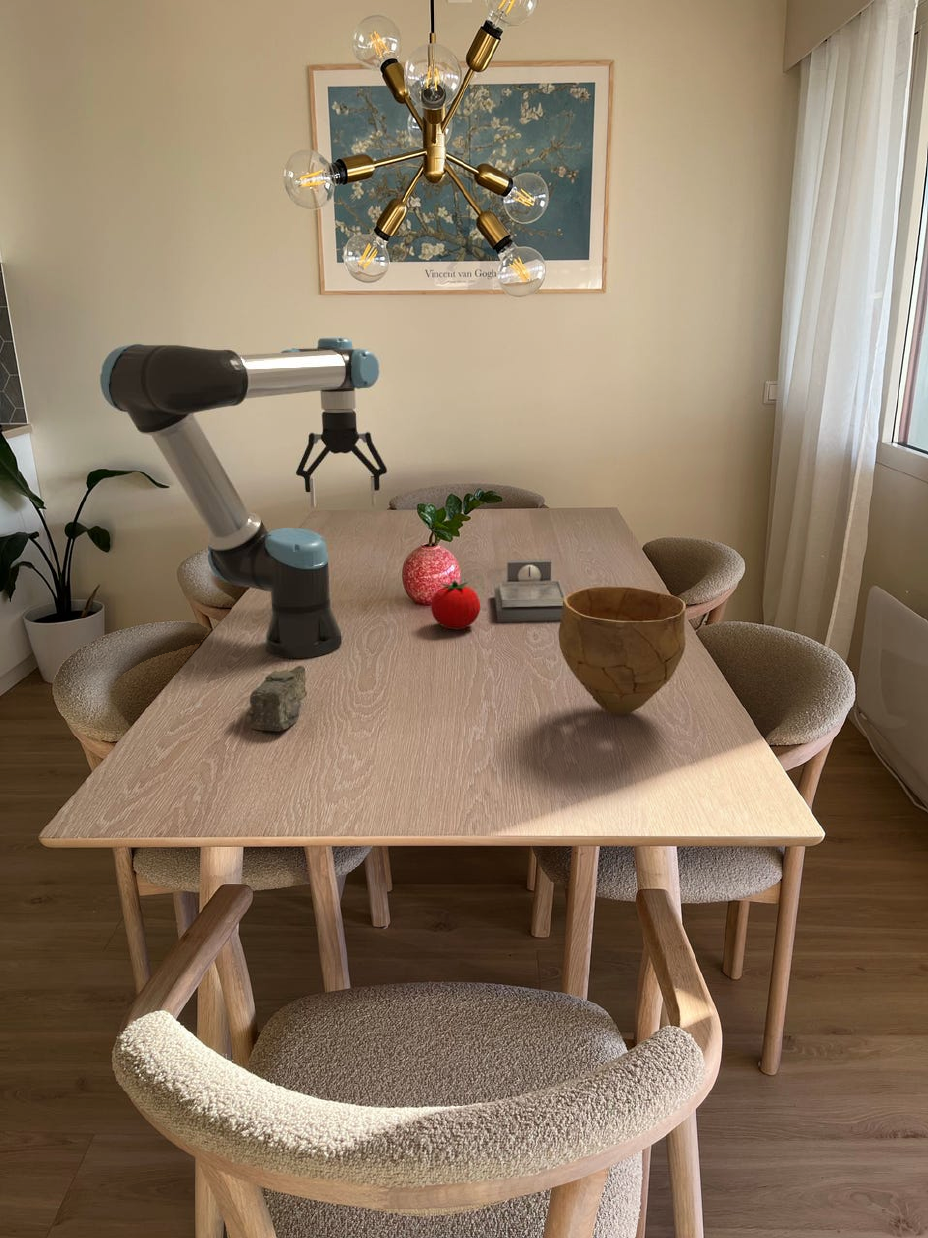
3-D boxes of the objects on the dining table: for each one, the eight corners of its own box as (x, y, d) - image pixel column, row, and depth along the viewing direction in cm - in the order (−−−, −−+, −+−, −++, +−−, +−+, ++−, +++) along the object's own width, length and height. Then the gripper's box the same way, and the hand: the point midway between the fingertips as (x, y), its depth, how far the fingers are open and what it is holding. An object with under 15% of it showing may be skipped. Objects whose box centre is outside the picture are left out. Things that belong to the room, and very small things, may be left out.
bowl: (554, 690, 166) (555, 582, 160) (669, 689, 165) (674, 580, 159) (562, 742, 146) (563, 621, 140) (692, 741, 146) (700, 620, 139)
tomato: (470, 637, 193) (469, 591, 190) (424, 632, 196) (422, 587, 193) (487, 622, 202) (486, 577, 199) (442, 617, 206) (441, 574, 202)
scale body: (571, 619, 202) (572, 580, 199) (497, 621, 202) (497, 581, 199) (562, 595, 219) (562, 558, 216) (494, 596, 219) (493, 559, 216)
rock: (249, 674, 164) (303, 657, 164) (262, 708, 166) (316, 691, 167) (236, 710, 148) (297, 691, 148) (251, 748, 150) (311, 729, 150)
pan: (566, 608, 202) (567, 598, 201) (502, 609, 202) (502, 599, 201) (559, 589, 215) (559, 580, 214) (499, 590, 215) (499, 581, 214)
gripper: (395, 407, 211) (398, 501, 217) (283, 409, 209) (289, 503, 216) (395, 411, 204) (398, 507, 210) (279, 413, 202) (286, 510, 208)
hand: (343, 505), depth 213 cm, fingers open, 13 cm apart
